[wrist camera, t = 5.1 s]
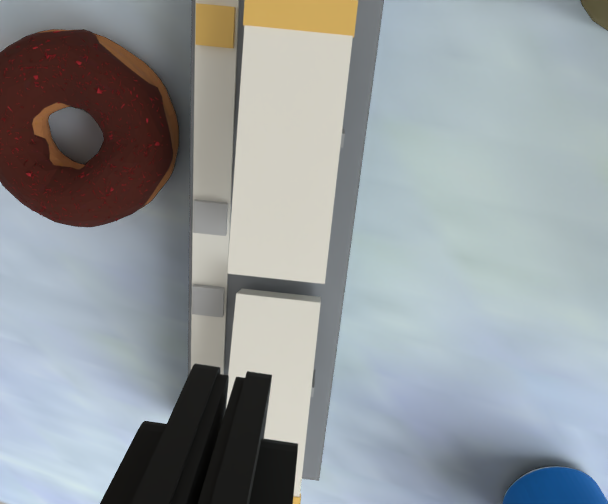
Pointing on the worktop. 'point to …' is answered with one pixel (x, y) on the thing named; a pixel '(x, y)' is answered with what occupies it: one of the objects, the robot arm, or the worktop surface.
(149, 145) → the donut
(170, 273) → the worktop surface
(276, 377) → the block
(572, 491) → the beverage can
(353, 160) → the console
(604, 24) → the cork
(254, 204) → the block
